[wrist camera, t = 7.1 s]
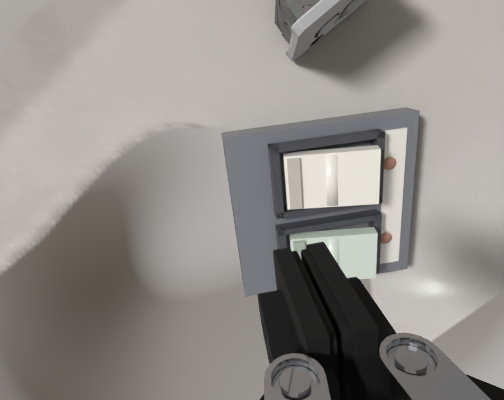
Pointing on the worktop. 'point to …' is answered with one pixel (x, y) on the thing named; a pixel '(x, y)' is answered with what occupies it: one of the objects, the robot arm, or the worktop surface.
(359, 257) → the rocker sage
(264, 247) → the switch panel
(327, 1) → the electrical switch
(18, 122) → the worktop surface
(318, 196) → the rocker ivory
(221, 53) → the worktop surface
